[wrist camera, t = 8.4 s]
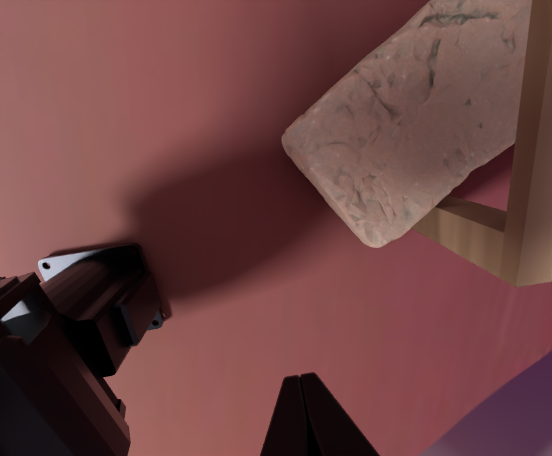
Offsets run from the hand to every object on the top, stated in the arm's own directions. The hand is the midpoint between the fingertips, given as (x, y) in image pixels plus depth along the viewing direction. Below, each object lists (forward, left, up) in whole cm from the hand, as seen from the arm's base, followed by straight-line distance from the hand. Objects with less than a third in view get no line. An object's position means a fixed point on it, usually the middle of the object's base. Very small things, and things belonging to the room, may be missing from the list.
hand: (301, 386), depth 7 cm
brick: (+10, +7, -13) cm, 18 cm away
